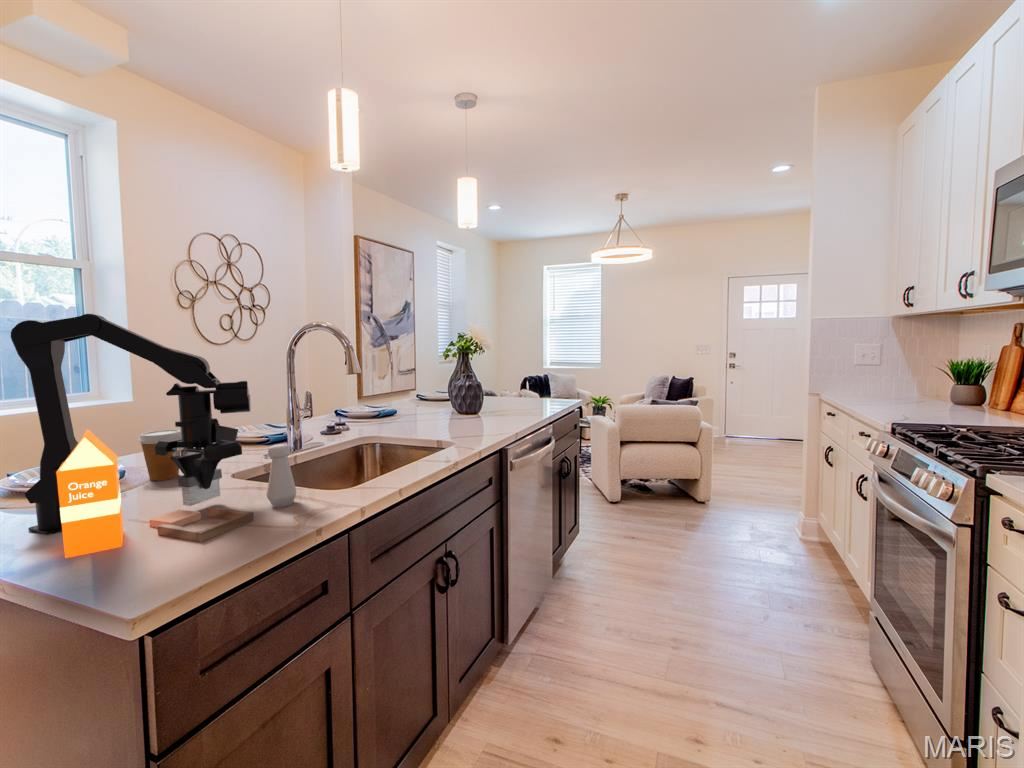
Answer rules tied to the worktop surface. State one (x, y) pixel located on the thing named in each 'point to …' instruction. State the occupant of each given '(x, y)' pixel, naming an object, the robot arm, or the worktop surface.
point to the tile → (176, 518)
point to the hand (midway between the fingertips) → (201, 488)
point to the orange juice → (90, 498)
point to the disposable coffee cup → (159, 464)
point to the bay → (234, 521)
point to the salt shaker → (280, 477)
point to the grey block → (198, 488)
